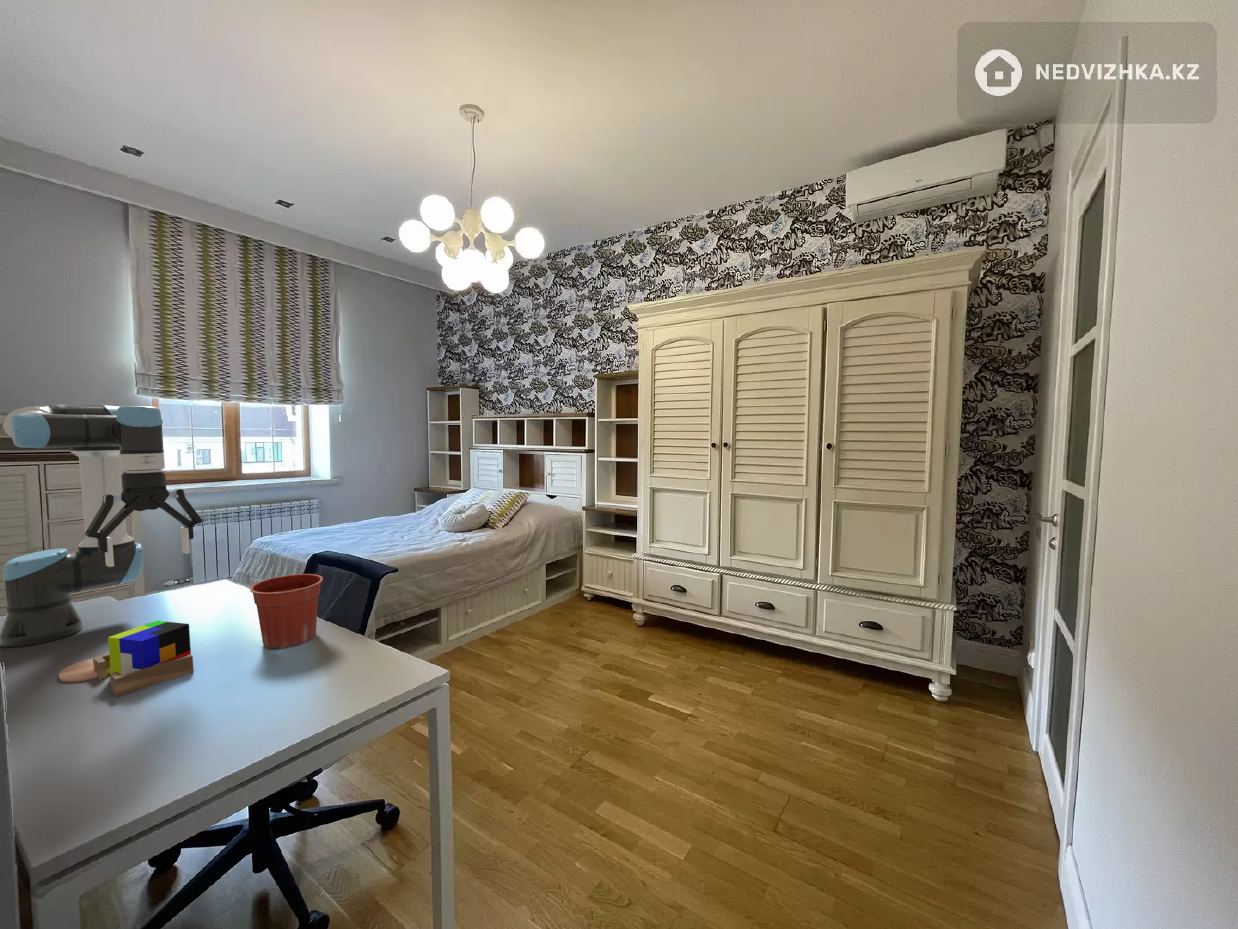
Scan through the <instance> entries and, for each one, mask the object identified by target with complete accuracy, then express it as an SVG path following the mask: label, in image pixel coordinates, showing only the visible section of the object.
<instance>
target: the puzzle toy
mask: <svg viewBox="0 0 1238 929" xmlns="http://www.w3.org/2000/svg"><path fill="white" fill-rule="evenodd" d="M190 632H191V631H190V624H189V623H183V622H173V621H163V620H154V621H152V622H150V623H146V624H143V625H140V626H137V627H134V628H131V629H129V630H126V631H123V632H118V633H117V634H114V635H111V636H108V637H107V643H108V653H109V656H110V669H111V673H113V672H117V671H118V672H119V673H120V674H121V675H125V674H128V673H132V672H135V671H138V670H141V669H145V668H148V667H151V666H155V665H158V664H161V663H164V662H168V661H171V660H174V659H177V658H181V657H184V656H187V655H192V651H191V650H192V649H191V636H190V634H191V633H190Z"/></svg>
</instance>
